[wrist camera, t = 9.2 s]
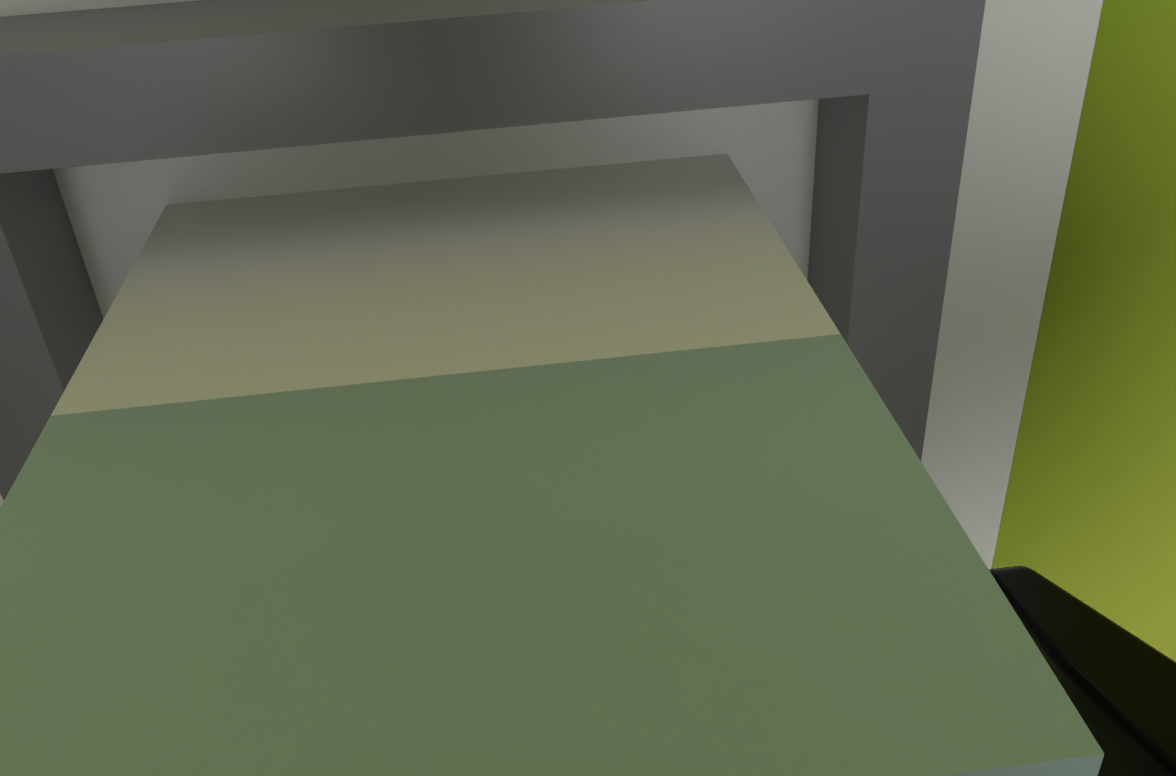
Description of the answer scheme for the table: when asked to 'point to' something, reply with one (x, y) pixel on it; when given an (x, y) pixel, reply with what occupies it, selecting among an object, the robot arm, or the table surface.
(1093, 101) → the table surface
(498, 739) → the grey green box
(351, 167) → the socket plate
